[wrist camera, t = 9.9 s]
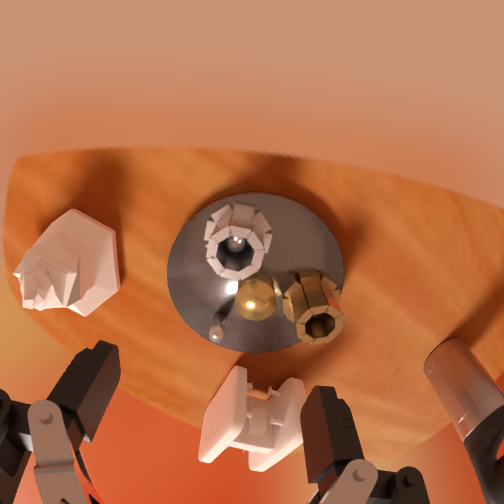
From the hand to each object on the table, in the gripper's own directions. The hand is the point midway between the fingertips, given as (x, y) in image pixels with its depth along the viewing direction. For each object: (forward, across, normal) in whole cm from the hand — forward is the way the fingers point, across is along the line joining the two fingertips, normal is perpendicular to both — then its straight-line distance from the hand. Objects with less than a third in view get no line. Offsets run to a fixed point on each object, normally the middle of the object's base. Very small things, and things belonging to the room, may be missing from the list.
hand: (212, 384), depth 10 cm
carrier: (+21, -3, +5) cm, 22 cm away
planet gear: (+20, 0, 0) cm, 20 cm away
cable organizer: (+22, -7, +25) cm, 34 cm away
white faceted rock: (+22, +20, +7) cm, 30 cm away
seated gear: (+20, -9, +5) cm, 23 cm away
